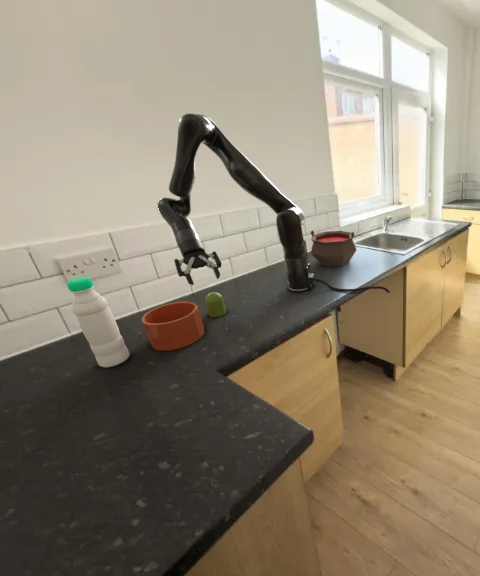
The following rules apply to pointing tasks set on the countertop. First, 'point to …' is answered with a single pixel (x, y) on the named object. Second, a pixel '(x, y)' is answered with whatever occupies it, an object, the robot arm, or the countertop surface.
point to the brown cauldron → (333, 247)
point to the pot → (173, 325)
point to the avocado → (215, 304)
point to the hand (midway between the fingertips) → (205, 280)
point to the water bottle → (97, 323)
